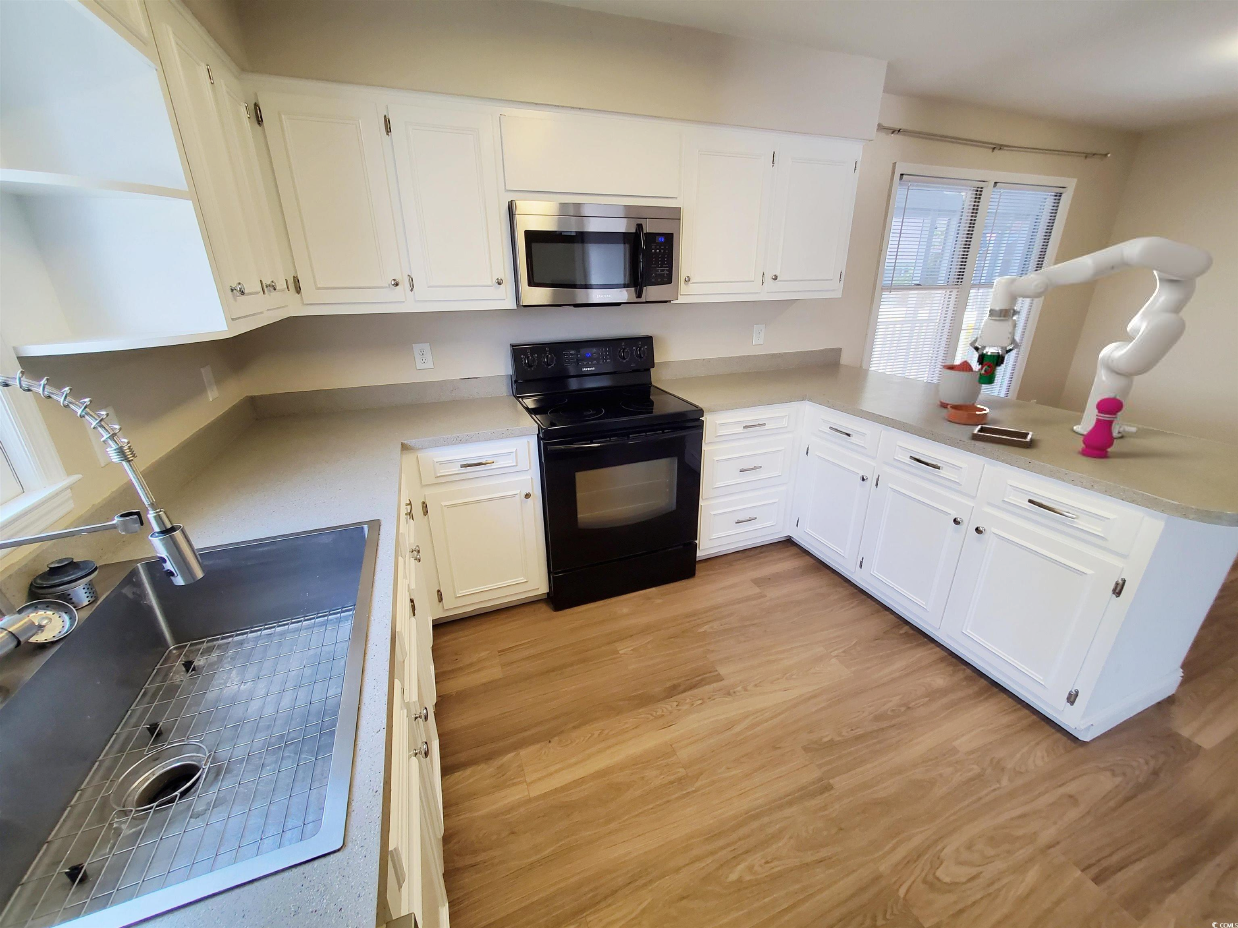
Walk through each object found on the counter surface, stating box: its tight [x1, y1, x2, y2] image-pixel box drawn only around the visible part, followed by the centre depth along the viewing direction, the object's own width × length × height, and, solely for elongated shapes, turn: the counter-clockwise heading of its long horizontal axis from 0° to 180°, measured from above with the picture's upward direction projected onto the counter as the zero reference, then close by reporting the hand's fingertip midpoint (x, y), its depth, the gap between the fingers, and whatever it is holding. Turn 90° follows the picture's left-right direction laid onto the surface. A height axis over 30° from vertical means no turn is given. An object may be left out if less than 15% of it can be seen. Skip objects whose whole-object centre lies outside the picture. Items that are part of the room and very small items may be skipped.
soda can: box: [978, 349, 1002, 386], centre depth 180 cm, size 5×5×12 cm
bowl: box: [945, 404, 990, 426], centre depth 193 cm, size 13×13×5 cm
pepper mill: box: [1080, 393, 1123, 459], centre depth 153 cm, size 7×7×20 cm
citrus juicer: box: [938, 359, 983, 409], centre depth 210 cm, size 16×17×20 cm
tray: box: [971, 424, 1034, 449], centre depth 172 cm, size 16×12×3 cm
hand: (989, 365), depth 180 cm, fingers closed on soda can, 5 cm apart
